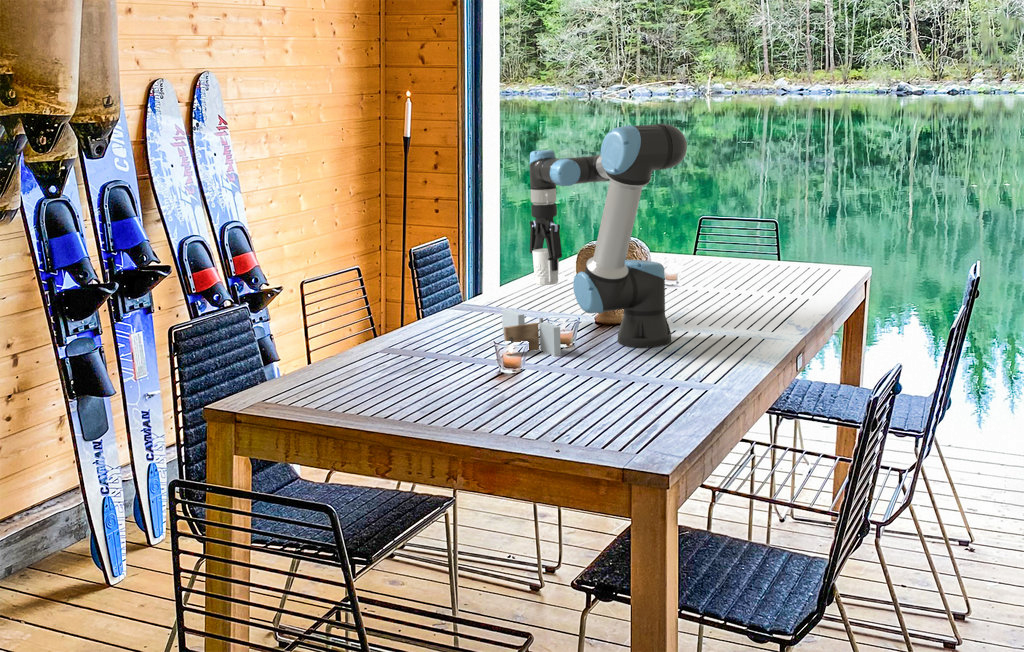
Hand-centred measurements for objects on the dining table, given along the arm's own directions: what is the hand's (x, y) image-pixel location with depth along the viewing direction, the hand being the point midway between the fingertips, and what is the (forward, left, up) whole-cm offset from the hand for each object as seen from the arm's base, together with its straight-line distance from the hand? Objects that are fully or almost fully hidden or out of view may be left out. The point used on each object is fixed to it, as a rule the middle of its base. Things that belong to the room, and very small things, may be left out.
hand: (546, 279), depth 332 cm
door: (-23, +21, -15) cm, 34 cm away
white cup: (0, 0, -1) cm, 1 cm away
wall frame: (-17, +15, -15) cm, 27 cm away
